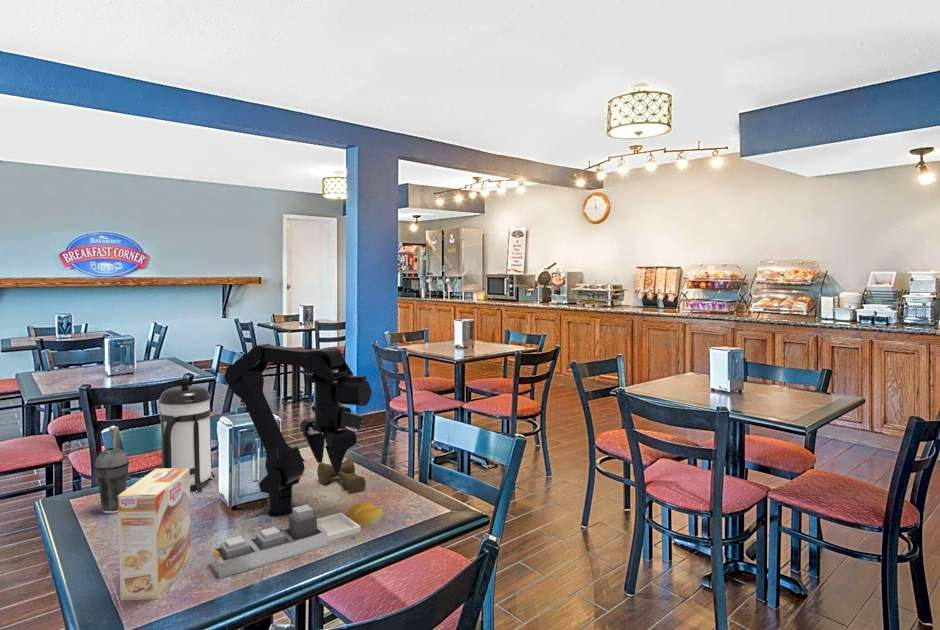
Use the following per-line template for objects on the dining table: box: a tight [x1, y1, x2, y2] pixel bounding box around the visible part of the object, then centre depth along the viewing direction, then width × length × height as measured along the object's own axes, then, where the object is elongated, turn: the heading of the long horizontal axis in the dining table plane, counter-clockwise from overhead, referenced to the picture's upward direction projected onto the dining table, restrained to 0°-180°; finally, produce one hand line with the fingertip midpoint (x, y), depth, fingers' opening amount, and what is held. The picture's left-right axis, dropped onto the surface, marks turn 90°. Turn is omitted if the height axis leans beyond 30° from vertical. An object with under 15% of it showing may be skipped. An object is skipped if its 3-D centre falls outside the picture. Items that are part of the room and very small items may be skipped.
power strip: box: [208, 524, 329, 579], centre depth 119 cm, size 7×22×4 cm, turn 129°
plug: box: [288, 503, 318, 540], centre depth 123 cm, size 4×4×8 cm
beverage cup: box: [93, 428, 130, 511], centre depth 141 cm, size 7×7×20 cm
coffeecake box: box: [117, 467, 192, 601], centre depth 109 cm, size 15×7×20 cm, turn 5°
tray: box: [317, 512, 362, 542], centre depth 131 cm, size 10×10×2 cm
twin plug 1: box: [219, 535, 250, 561], centre depth 115 cm, size 4×4×5 cm
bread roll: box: [345, 501, 384, 527], centre depth 137 cm, size 8×9×4 cm
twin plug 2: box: [255, 526, 285, 550], centre depth 119 cm, size 4×4×5 cm
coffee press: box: [158, 377, 216, 492], centre depth 157 cm, size 17×16×30 cm
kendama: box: [316, 458, 367, 494], centre depth 162 cm, size 6×10×20 cm
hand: (328, 467), depth 136 cm, fingers open, 9 cm apart
